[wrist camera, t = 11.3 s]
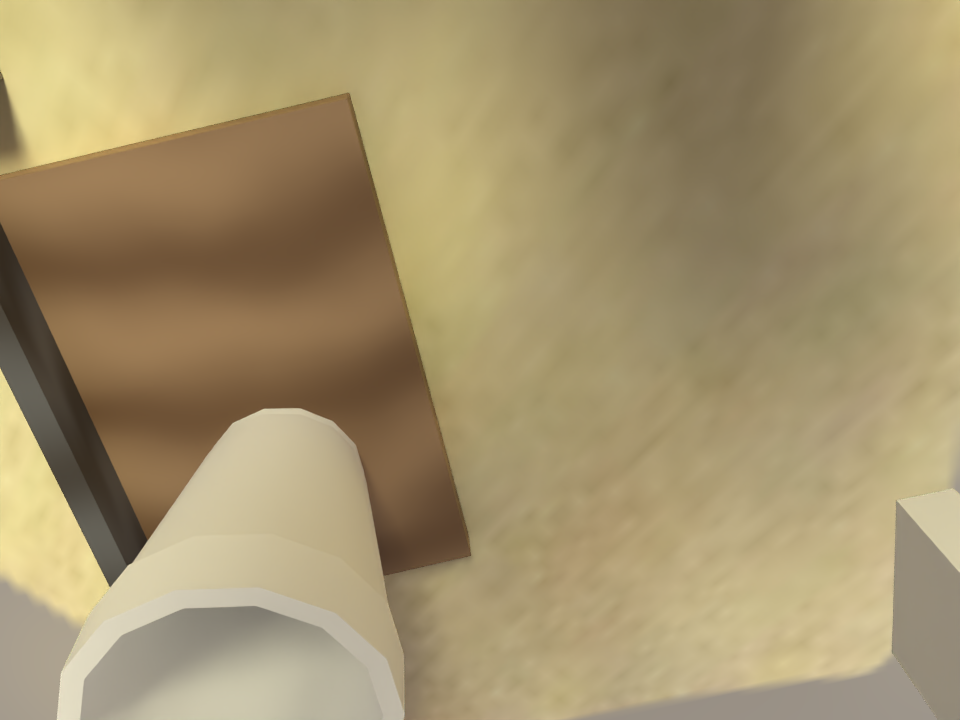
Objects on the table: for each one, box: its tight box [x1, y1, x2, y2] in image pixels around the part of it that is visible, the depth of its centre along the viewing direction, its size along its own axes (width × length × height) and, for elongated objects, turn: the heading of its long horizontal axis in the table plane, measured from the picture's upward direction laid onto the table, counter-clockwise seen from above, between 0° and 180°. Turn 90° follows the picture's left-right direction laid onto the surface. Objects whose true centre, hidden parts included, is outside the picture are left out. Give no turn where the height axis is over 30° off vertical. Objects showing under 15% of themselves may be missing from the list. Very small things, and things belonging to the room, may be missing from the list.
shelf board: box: [0, 93, 471, 587], centre depth 34 cm, size 20×14×4 cm
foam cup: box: [57, 408, 405, 720], centre depth 30 cm, size 10×9×13 cm
